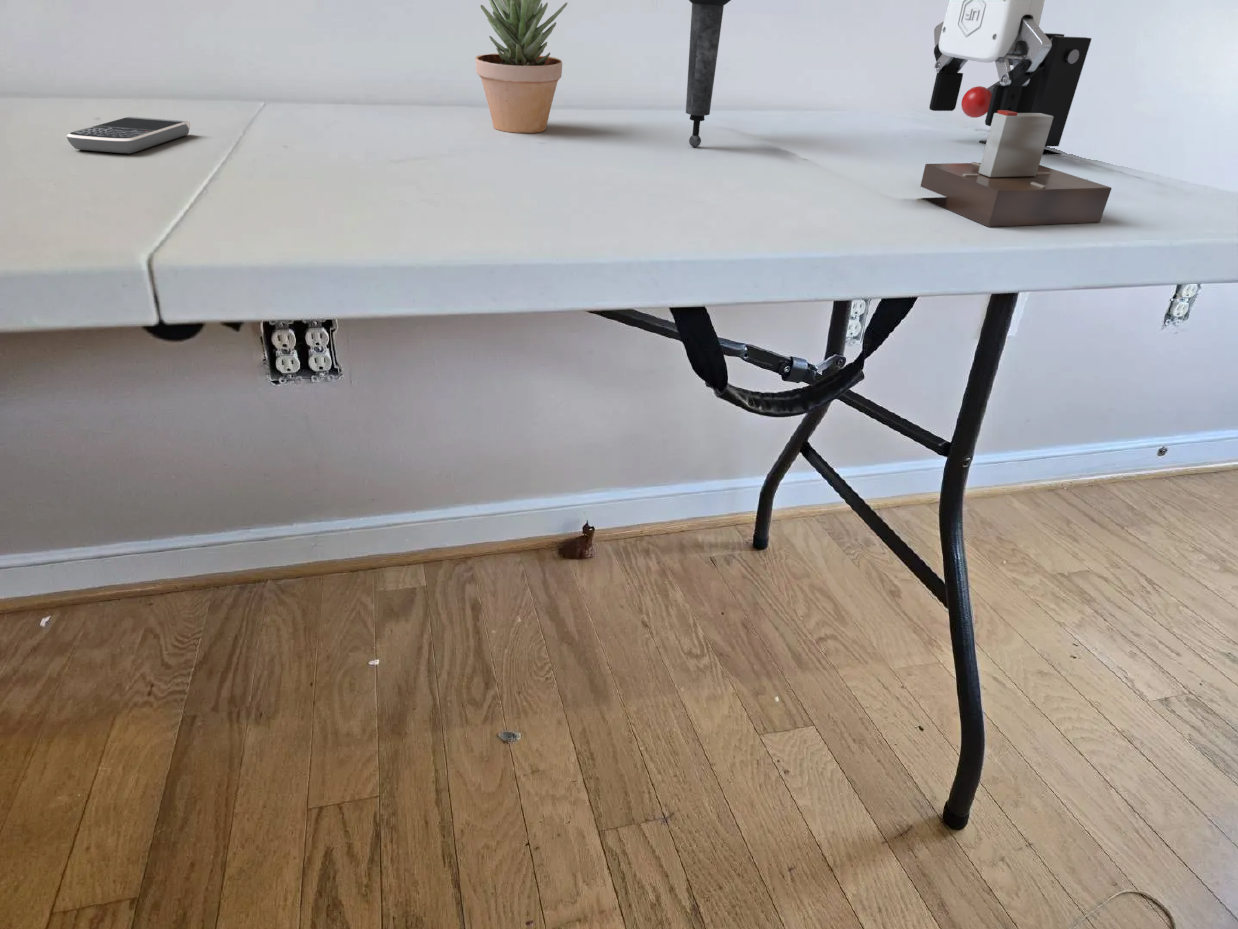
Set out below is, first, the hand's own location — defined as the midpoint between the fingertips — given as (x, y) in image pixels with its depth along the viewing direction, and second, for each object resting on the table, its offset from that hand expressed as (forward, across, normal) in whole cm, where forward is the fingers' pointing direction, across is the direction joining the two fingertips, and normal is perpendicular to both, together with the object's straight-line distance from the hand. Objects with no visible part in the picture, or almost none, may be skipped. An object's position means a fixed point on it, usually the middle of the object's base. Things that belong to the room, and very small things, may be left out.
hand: (968, 117), depth 95 cm
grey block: (+1, +21, -12) cm, 24 cm away
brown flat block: (+4, +21, -11) cm, 24 cm away
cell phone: (+4, -11, -86) cm, 87 cm away
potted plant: (+4, -18, -47) cm, 50 cm away
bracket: (+4, 0, +9) cm, 10 cm away
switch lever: (-3, 0, +6) cm, 6 cm away
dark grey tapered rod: (+4, -7, -30) cm, 31 cm away
